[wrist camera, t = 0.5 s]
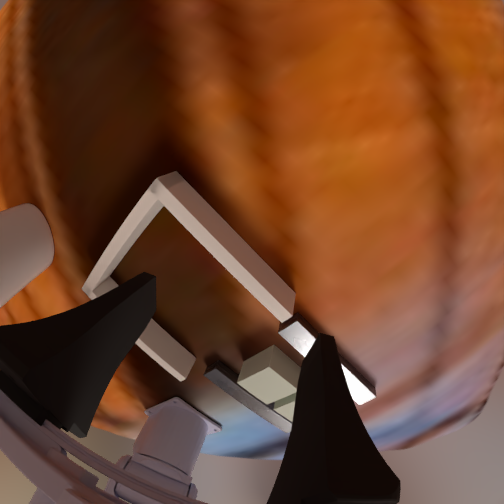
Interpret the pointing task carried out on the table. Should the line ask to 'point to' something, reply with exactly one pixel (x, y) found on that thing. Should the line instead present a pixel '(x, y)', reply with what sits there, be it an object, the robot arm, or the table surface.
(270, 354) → the chip
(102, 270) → the white u-shaped bracket
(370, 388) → the channel
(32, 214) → the candle holder
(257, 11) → the table surface
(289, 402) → the white small block
